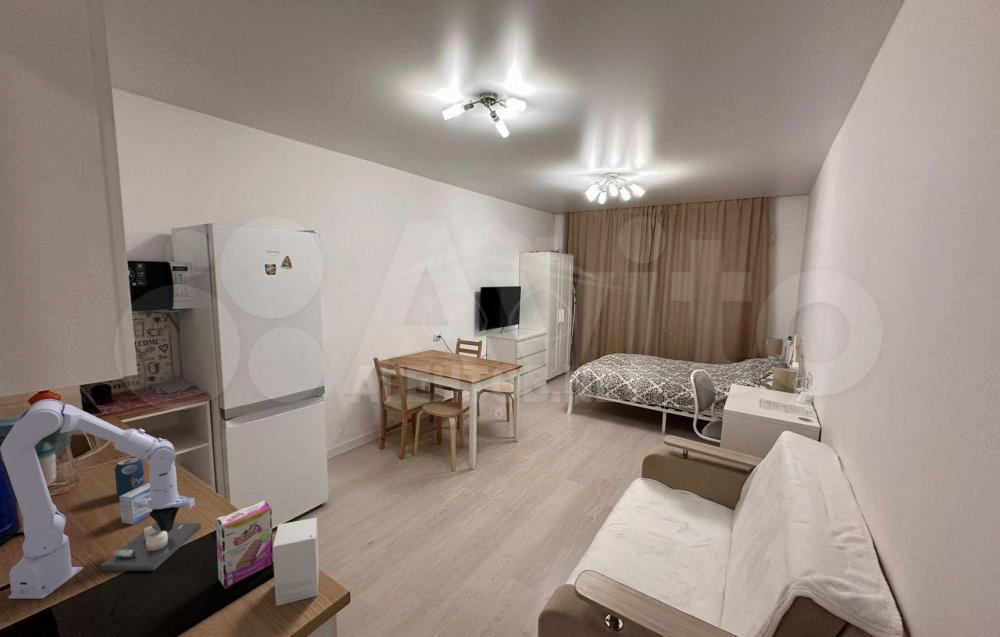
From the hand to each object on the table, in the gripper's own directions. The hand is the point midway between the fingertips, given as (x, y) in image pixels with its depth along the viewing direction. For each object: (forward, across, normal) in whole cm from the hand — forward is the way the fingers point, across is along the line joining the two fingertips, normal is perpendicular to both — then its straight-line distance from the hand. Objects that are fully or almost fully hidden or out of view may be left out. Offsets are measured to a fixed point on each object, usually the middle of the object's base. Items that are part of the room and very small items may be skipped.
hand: (167, 531), depth 113 cm
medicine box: (+3, +17, -12) cm, 20 cm away
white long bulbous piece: (+1, +2, +3) cm, 4 cm away
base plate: (+3, +2, +3) cm, 4 cm away
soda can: (+3, +30, -24) cm, 38 cm away
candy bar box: (+3, -28, +12) cm, 31 cm away
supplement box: (+3, -43, +17) cm, 47 cm away
